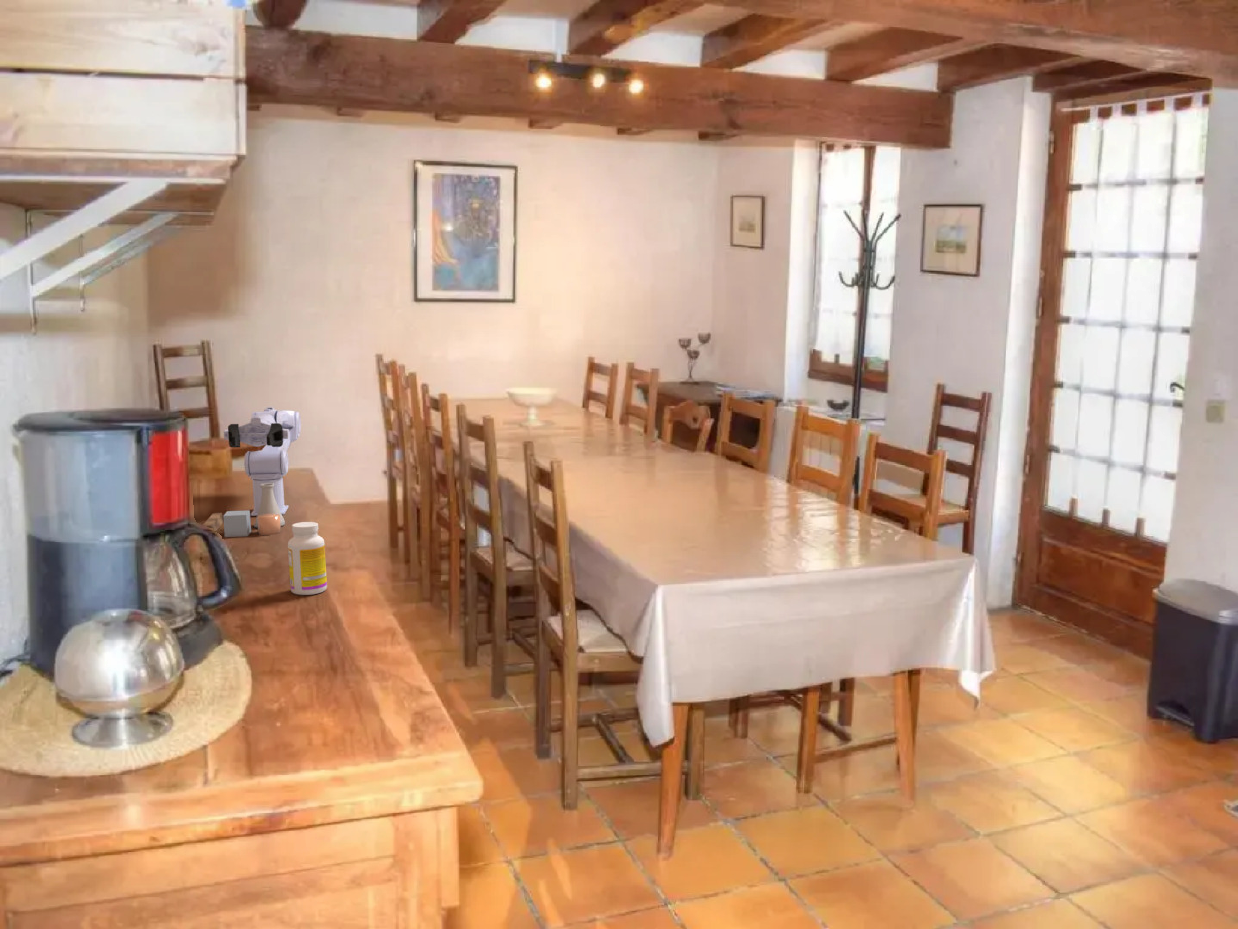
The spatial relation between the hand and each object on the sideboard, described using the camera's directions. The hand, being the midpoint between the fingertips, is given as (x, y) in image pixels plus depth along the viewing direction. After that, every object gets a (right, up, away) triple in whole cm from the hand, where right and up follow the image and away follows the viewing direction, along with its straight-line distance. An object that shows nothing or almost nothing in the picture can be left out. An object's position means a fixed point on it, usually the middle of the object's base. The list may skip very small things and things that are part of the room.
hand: (250, 441), depth 258 cm
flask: (+2, -20, +9) cm, 22 cm away
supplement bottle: (+26, -29, -46) cm, 61 cm away
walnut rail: (-10, -21, +5) cm, 23 cm away
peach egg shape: (+4, -21, +1) cm, 21 cm away
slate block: (-3, -21, 0) cm, 22 cm away
